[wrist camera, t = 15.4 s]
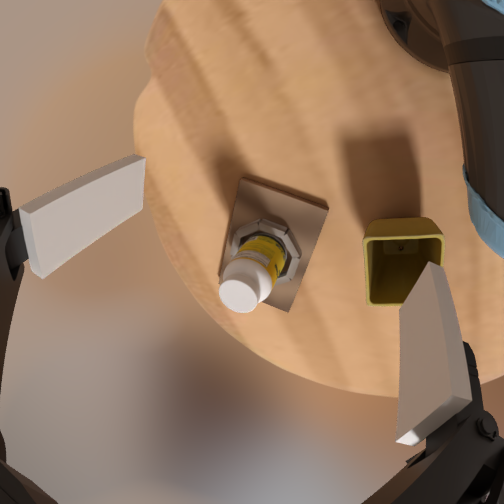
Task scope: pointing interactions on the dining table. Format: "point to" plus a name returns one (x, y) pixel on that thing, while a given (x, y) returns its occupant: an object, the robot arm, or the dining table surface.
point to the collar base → (276, 232)
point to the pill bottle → (252, 272)
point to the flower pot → (399, 257)
